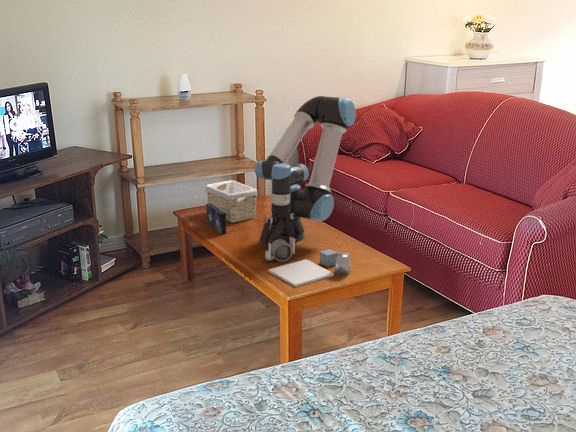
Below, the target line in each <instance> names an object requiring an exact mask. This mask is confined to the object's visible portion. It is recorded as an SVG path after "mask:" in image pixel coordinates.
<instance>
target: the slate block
mask: <svg viewBox="0 0 576 432" xmlns="http://www.w3.org/2000/svg"><path fill="white" fill-rule="evenodd" d="M336 253H338V251H335V250H332V249H330V248H329V249H325V250H321V251H319V264H320V265H323V266H325V267H326V268H328V267H333V266H335V254H336Z"/></svg>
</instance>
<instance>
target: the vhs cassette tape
mask: <svg viewBox="0 0 576 432" xmlns="http://www.w3.org/2000/svg"><path fill="white" fill-rule="evenodd" d="M205 206H206V209H205V210H206V211H205V212H206V225H208V226H209V227H211V228H212V229H213V230H214V231H216V232H217V233H218V234H220V235H227V221H226V213H224V212H223V211H221V210H220V209H219V208H217V207H216V206H214V205H213V204H211V203H208V202H207V203H205Z"/></svg>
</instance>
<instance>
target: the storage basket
mask: <svg viewBox="0 0 576 432" xmlns="http://www.w3.org/2000/svg"><path fill="white" fill-rule="evenodd" d="M220 189H222V190H220ZM205 191H206V198H207V203H211V204H213V205H214V206H216V207H217V208H219V209H220V210H221V211H223V212H224V213H226V222H229V223H230V224H231V223H238V222H242V221H247V220H251V219H255V218H256V210H257V209H256V207H257V196H258V190H257V189H256V188H255V187H252V186H249V185H246V184H243V183H242V182H239V181H236V180H234V179H230V180H225V181H219V182H215V183H209V184H206V185H205Z"/></svg>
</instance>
